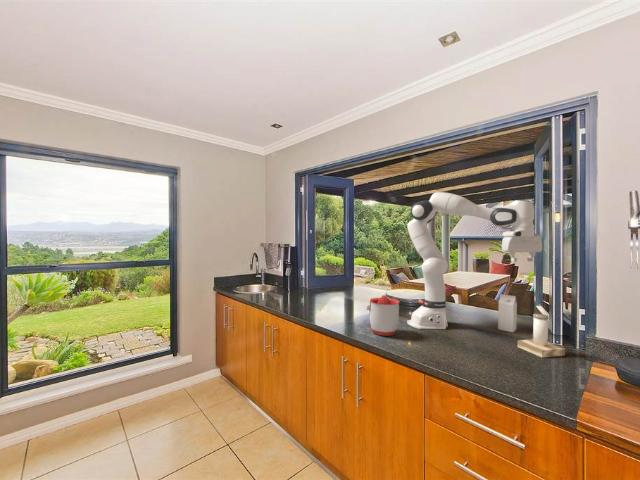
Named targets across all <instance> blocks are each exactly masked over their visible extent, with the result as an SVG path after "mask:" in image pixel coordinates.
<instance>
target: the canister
mask: <svg viewBox="0 0 640 480" xmlns="http://www.w3.org/2000/svg"><path fill="white" fill-rule="evenodd" d="M532 317H533V325H532V326H533V328H532V330H533V331H532V339H533V344H535V345H538V346H548V342H549V340H548V339H549V336H548V334H549V319H550V317H549V315H548V314H542V313H533V314H532Z"/></svg>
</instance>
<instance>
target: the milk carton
mask: <svg viewBox="0 0 640 480" xmlns="http://www.w3.org/2000/svg"><path fill="white" fill-rule="evenodd" d="M517 307H518V304H517V297H516V296H515V295H509V294H501V293H500V296H499V300H498V311H497V312H498V316H497V317H498V318H497V319H498V321H497V330H500V331H504V332H509V333H514V332H516V330H517V321H518V320H517V316H518V315H517V312H518V309H517Z"/></svg>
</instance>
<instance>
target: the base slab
mask: <svg viewBox="0 0 640 480" xmlns="http://www.w3.org/2000/svg"><path fill="white" fill-rule="evenodd" d="M517 348H520V349H522V350H524V351H526V352H528V353H530V354H533V355H535V356H537V357H540V358H542V359H544V358H551V357H553V358H554V357H562V356H566V348H565V347H562V346H560V345H557V344H554V343H550V342H549V341H548V346H538V345H535V344H533V338H530V339H529V338H528V339H518V340H517Z"/></svg>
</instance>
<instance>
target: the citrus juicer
mask: <svg viewBox="0 0 640 480" xmlns="http://www.w3.org/2000/svg"><path fill="white" fill-rule="evenodd" d="M365 310H366V311H368V310H369V323H370V328H371V331H372V333H374V334H375V335H377V336H378V335H379V336H383V337H385V336H387V337H388V336H389V337H390V336H393V335H395V334H396V332H397V330H398V326H399V318H400V312H399V311H400V300H398V299H395V298H390V297H388V296H387V295H385V294H384V295H382V296H380V297H373V298H370V301H369V305H367V306H366V308H365Z"/></svg>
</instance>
